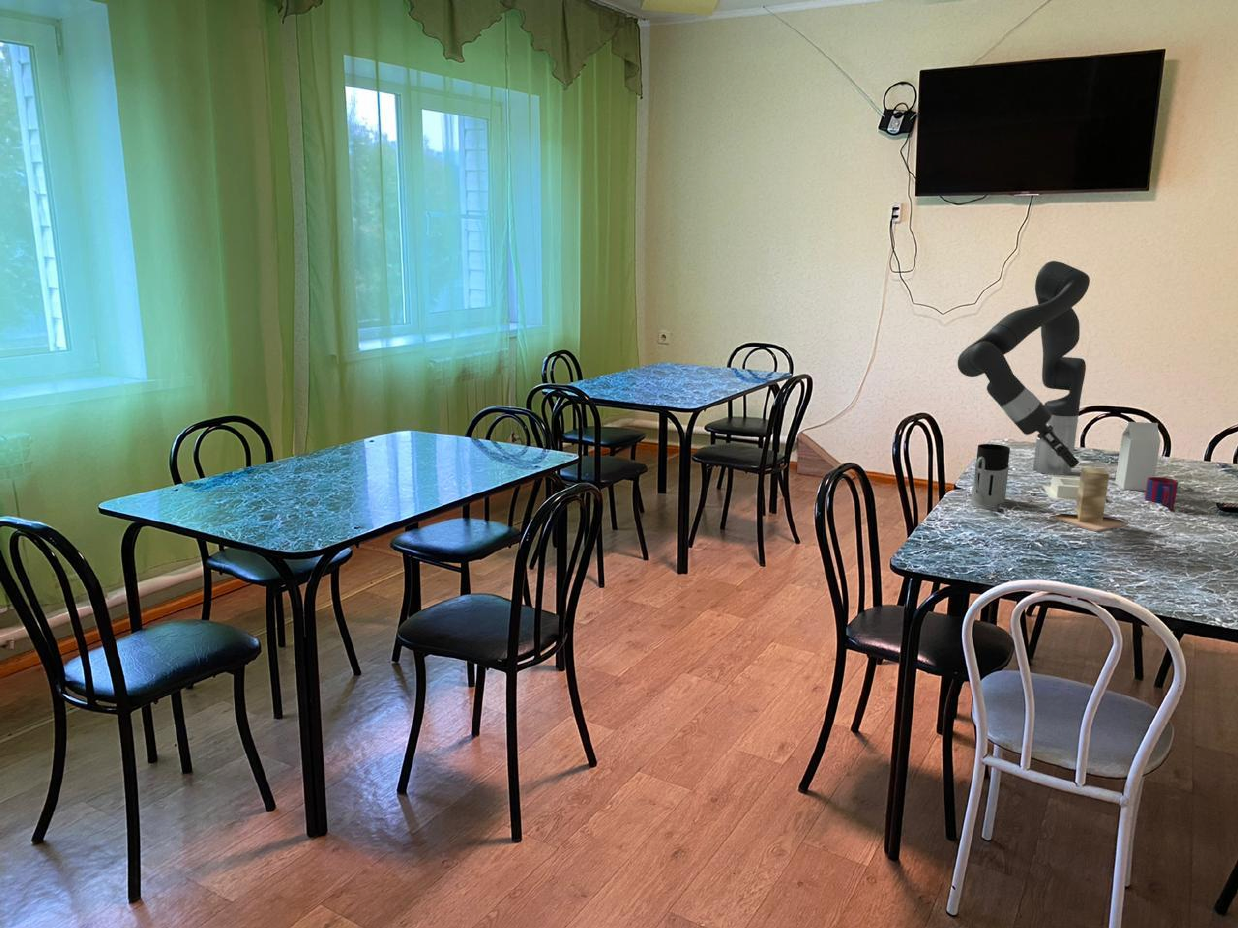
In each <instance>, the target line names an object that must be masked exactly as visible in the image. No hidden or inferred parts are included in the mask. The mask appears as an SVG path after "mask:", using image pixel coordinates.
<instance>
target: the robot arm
mask: <svg viewBox="0 0 1238 928" xmlns="http://www.w3.org/2000/svg"><path fill="white" fill-rule="evenodd" d="M1090 281H1091V278H1090V276H1089V275H1088V273H1086V272H1084V271H1082V270H1080V269H1079V268H1076V267H1074V266H1071V265H1068V264H1067V263H1065V262H1061V261H1059V260H1058V261H1057V260H1051V261H1048V262H1047V263H1044V265H1042V266H1041V268H1040V269H1039V271H1038V272H1037V275H1036V278H1035V283H1034V291H1035V296H1036V301H1037V304H1035V305H1033V306H1032V305H1031V306H1028V307H1025V308H1021V309H1017V310H1015V311H1013V312H1011V313H1008V314H1006V315H1005V317H1003V318H1002V319H1001V320H1000V321H998V322H997V323H996V324H995V325H994V326H992V328H991V329H990V330H988V331H987V332H986V334H984V335H983V336H981V337H979V338H978V339H977V340H976V341H974V342H973V343H972V344H970V345H969V346H967V347H966V348H965V349H964V350H963V351H962V352H961V353H960V354H959V356H958V359H957V368H958V370H959V372H960V373H961V374H962V375H964V376H966V377H968V378H977V377H980V376H981V375H985V376H986V378H987V379H988V381H989V382H988V384H987V386H986V391H987V393H988V394H989V396H991V398H992V399H993V400H994V401H995V402H996V404H998V405H999V406H1000V408H1001V409H1002V410H1003V411H1004V413H1005V415H1006V416H1007V417H1008V418H1009V419H1010V420H1011V422H1013V423H1014V424H1015V426H1016V427H1017V428H1018V429H1019V430H1020V431H1021V432H1022V433H1023V435H1025V436H1029V435H1032V434H1035V433H1036V432H1038V434H1037V435H1036V440H1035V447H1034V448H1035V449H1034V456H1033V466H1032V470H1035V471H1037V472H1038V473H1040V474H1045V475H1050V476H1069V475H1071V473H1072V469H1073V468H1075V467H1076V466H1077V465H1079V464H1080V461H1079V460H1078V459H1077V457H1076V456H1074V452H1075V444H1076V437H1077V429H1078V423H1079V414H1080V406H1081V398H1082V392H1083V387H1084V382H1085V377H1086V370H1087V363H1086V361H1085V359H1084V358H1082V357H1081V358H1080V357H1068V356H1066V355H1067V354H1069V353H1070V352H1071V351H1072V350H1074V348H1075V347H1076V346H1077V344H1078V343H1079V340H1080V334H1081V333H1080V325H1081V324H1080V319H1079V317H1078V315H1077V313H1076V312H1075V310H1074V309H1073V307H1074V306H1076V305H1077V304H1078V303H1079V302H1080V301H1081V300H1082V299H1083V297H1084V296H1085V295H1086V294H1087V291H1088V289H1089V287H1090ZM1039 328H1040V334H1041V335H1040V337H1041V344H1042V345H1041V346H1042V347H1041V348H1042V364H1041V365H1042V366H1041V367H1042V368H1041V369H1042V371H1041V380H1042V384H1043V386H1044V387H1045V388H1047V389H1051V390H1062V391H1068V394H1067V395H1065V396H1063V397H1060V398H1057V399H1052V400H1049V401H1046V402H1045V403H1044V404H1043V403H1042V401H1040V400H1039V398H1037V396H1036V395H1035V394H1034V393H1033V392H1032V391H1031V390H1030V389H1028V388H1027V387H1026V386H1025V385H1024V384H1023V383H1022V382H1021V381H1020V379H1019V378H1018V377H1017V376H1016V375H1014V373H1013V371H1012V368H1011V366H1010V365H1009V362H1008V361H1007V359H1006V357H1005V355H1006V354H1008V353H1010V352H1011V351H1013V350H1014V349H1015V348H1016V347H1017V346H1018V345H1020V344H1021V342H1023V341H1024V340H1025V339H1026V338H1028V337H1029V336H1030V335H1031V334H1032V333H1034V332H1035V331H1037V329H1039Z"/></svg>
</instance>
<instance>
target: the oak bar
mask: <svg viewBox="0 0 1238 928" xmlns="http://www.w3.org/2000/svg"><path fill="white" fill-rule="evenodd" d="M1079 479H1080V482H1079V490H1078V497H1077V501H1076V505H1075V514H1074V515H1075V516H1076V518H1077V519H1078V520H1079V521H1080V522H1092V523H1102V522H1103V517H1104V515H1105V509H1106V503H1105V501H1106V499H1107V493H1108V487H1109V480H1110V473H1109V472H1108V471H1107V470H1106V469H1105V468H1094V467H1081V469H1080V477H1079ZM1106 502H1107V501H1106Z"/></svg>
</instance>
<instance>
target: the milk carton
mask: <svg viewBox="0 0 1238 928" xmlns="http://www.w3.org/2000/svg"><path fill="white" fill-rule="evenodd" d="M1158 426H1159V423H1158V422H1143V421H1142V422H1141V421H1140V422H1138V421H1128V423H1127V426H1126V428H1125V429H1124V431H1123V433H1122V435H1121V441H1120V448H1119V449H1120V450H1119V455H1118V462H1117V470H1116V475H1115V476H1116V477H1115V482H1114V483H1115V484H1116V485H1117V486H1118V487H1120V488H1121V489H1122V490H1127V491H1128V490H1129V491H1140V492H1146V487H1147V481H1148V478H1149V477H1156V472H1157V465H1158V458H1159V453H1160V452H1159V451H1160V445H1161V437H1160V432H1159V427H1158Z"/></svg>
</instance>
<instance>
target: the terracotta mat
mask: <svg viewBox="0 0 1238 928" xmlns="http://www.w3.org/2000/svg"><path fill="white" fill-rule="evenodd" d="M1075 515H1076V514H1070V513H1060V514H1055V515H1050V519H1051V518H1053V519H1052V520H1055V519H1056V520H1055V521H1058V520H1060V521H1059V522H1061V521H1063V522H1062V523H1065V522H1066V523H1065V524H1068V523H1069V524H1068V525H1071V524H1072V525H1071V526H1076V527H1078V528H1081V527H1082V528H1081V529H1085V530H1088V531H1092V532H1095V531H1099V532H1102V531H1106V530H1112V529H1115V528H1116V529H1117V528H1119V527H1123V526H1128V525H1129V522H1127V521H1124V520H1120V519H1116V518H1114V517H1109V516H1103V522H1102V523H1092V522H1080V521H1079V520H1078V519H1077V518H1076V516H1075Z"/></svg>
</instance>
